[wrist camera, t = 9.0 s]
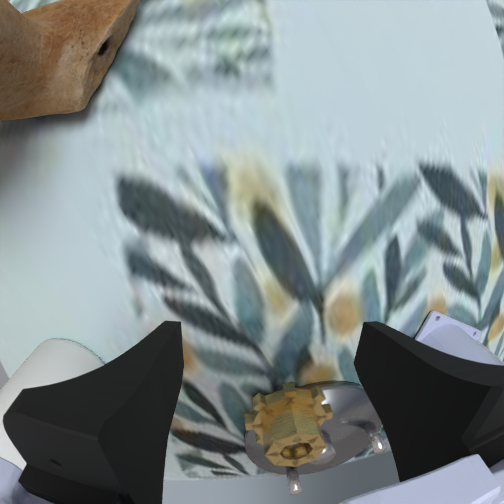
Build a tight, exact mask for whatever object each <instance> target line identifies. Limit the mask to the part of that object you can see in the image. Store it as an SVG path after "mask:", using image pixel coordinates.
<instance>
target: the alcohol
mask: <svg viewBox="0 0 504 504" xmlns="http://www.w3.org/2000/svg"><path fill="white" fill-rule="evenodd" d="M103 365H105V364H104V363H103V362H102V361H101V360H100V359H99V358H98V357H97V356H96V355H95V354H94V353H93V352H92V351H90V350H89V349H87V348H86V347H84V346H82V345H80V344H78V343H76V342H73V341H70V340H63V339H53V340H47V341H44V342H43V343H41V344H40V345H39V346H38V347H37V348H36V349H35V350H34V351H33V353H32V354H31V355H30V356H29V357H28V358H27V359H26V361H25V362H24V363H23V364H22V365H21V366H20V367H19V369H18V370H17V371H16V372H15V373H14V374H13V376H12V377H11V378H10V379H9V381H8V382H7V383H6V384H5V385H4V386H3V388H2V389H1V390H0V457H2V458H4V459H6V460H7V461H9V462H12V463H13V464H15V465H17V466H18V467H19V468H20V469H22V470H24V468H25V466H26V464H27V463H26V462H25V460H24V459H23V458H22V456H21V455H20V453H19V452H18V451H17V449H16V448H15V446H14V445H13V443H12V442H11V440H10V439H9V437H8V435H7V433H6V431H5V429H4V425H3V421H2V420H3V415H4V414H5V413H6V411H7V410H8V408H9V407H10V406H11V404H12V403H13V402H14V400H15V399H16V397H17V396H18V395H19V393H20V392H21V391H22V390H23V389H26V388H33V387H39V386H45V385H50V384H54V383H58V382H62V381H65V380H69V379H72V378H75V377H78V376H80V375H83V374H85V373H88V372H90V371H92V370H95V369H97V368H99V367H101V366H103Z"/></svg>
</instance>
